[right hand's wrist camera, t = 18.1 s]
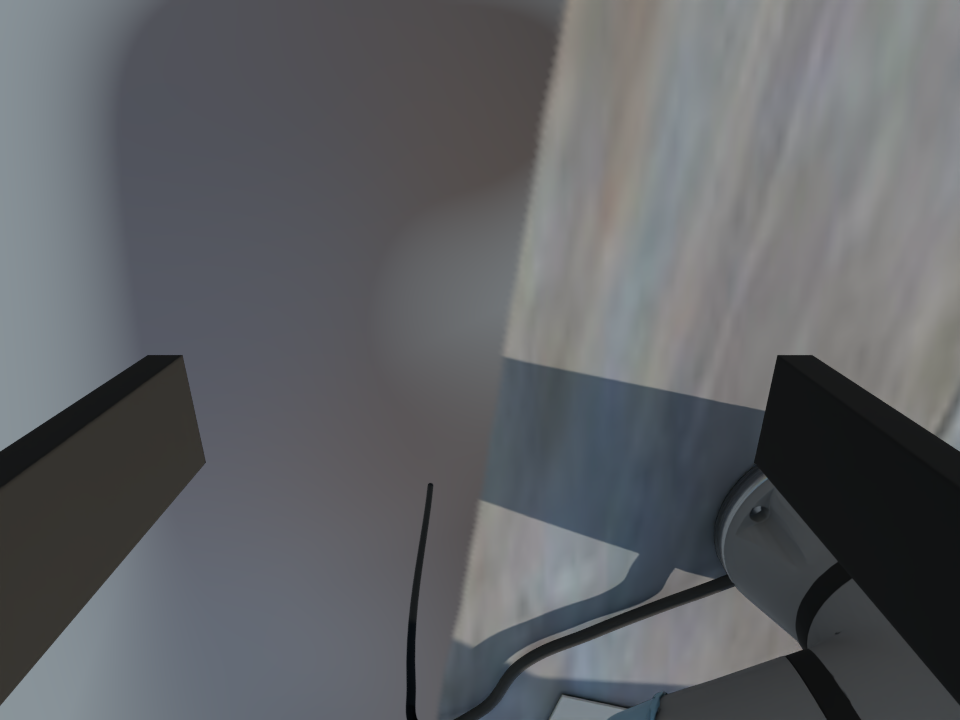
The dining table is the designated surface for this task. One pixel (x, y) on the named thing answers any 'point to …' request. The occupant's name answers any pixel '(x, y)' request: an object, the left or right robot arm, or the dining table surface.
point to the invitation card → (582, 709)
